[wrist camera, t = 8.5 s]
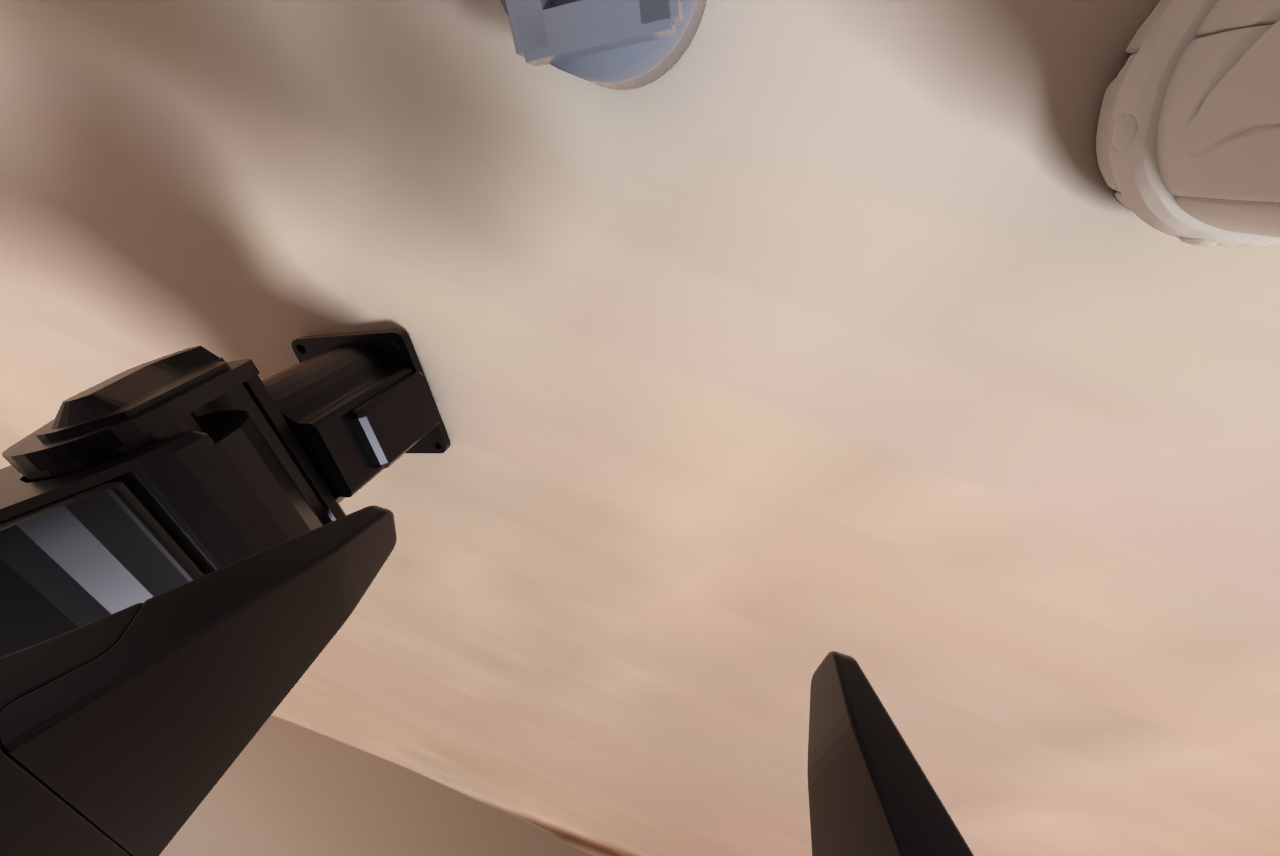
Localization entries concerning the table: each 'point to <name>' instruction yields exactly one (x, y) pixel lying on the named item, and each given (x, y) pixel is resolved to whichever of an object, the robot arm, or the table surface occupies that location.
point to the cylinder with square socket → (605, 36)
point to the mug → (1199, 123)
